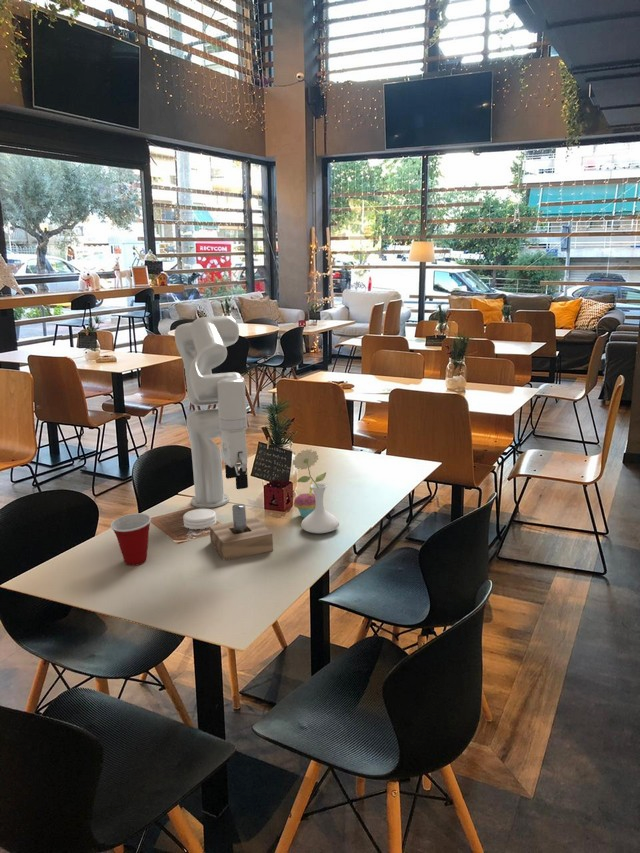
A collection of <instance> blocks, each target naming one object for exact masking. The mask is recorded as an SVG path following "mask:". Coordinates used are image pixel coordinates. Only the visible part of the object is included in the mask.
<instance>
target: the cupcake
mask: <svg viewBox="0 0 640 853" xmlns="http://www.w3.org/2000/svg"><path fill="white" fill-rule="evenodd" d="M309 484H310V485H311V484H313V481H311V482H310V483H309ZM312 492H313V489H312V488H311V487H310V486H309V493H300V494H299V495H298V496H296V498H294V502H293V506H294V507H295V508H297V509H298V512H299V513H300V516H301V517H302V518H303V519H305V518H306V517H307V516H308V515H309V514H311V513H312V512H313V511H314V510H315V506H316V501H315V494H314V492H313V493H312Z"/></svg>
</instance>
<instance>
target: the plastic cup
mask: <svg viewBox="0 0 640 853" xmlns="http://www.w3.org/2000/svg"><path fill="white" fill-rule="evenodd" d="M151 521H152V516H150V515H149V514H147V513H139V512H138V513H129V514H125V515H122V516H120V517H117V518H116V519H114V520H112V521H111V523H110V528H111V530H113V532H114V534H115V537H116V539H117V542H118V546H119V549H120V552H121V554H122V558H123V561H124V563H125V565H128V566H131V567H132V566H138V565H139V566H140V565H141V564H144V563H145V562H146V561H147V558H148V549H149V535H150V527H151Z"/></svg>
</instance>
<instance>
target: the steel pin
mask: <svg viewBox="0 0 640 853" xmlns="http://www.w3.org/2000/svg"><path fill="white" fill-rule="evenodd" d="M231 509H232V522H233V526H234V535H235V534H240V533H245V532H247V527H246V519H247V514H246V505H245V504H242V503H236V504H234V505H232V506H231Z"/></svg>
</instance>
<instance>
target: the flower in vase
mask: <svg viewBox="0 0 640 853" xmlns="http://www.w3.org/2000/svg"><path fill="white" fill-rule="evenodd" d="M318 460H319V455H318V453H317V450H313V449H312V448H310V449H308V448H306V449H305V450H304V449H301V451H300V452H297V454H296V455H295V456H294V459H293V460H292V465H294V466H293V467H294V468H295V469H297V470H299V469H300V470H307V469H308V475H309V476H308V475H303V476H301V477H299V478H298V479H297V480H296V483H308V482H309V481H310V480H311V481H312V484H311V485H310V486H309V488H310V487H311V488H312V492H313V494H315V501H316V506H315V510H314V511H313V512H312V513H311V514H309V515H308V516H307V517H306V518H303V520H302V521H301V523H300V527H301V528H302V529H303V531H305V532H308V533H311V534H326V533H330V532H333V531H335V530H337V528H338V527H339V526H340V522H339V520H338V518H337V517H336V516H335V515H333V514H332V513H330V512H329V511H328V510H326V509H325V507H324V493H325V490H326V488H327V487H328V485H327V484H326V483H323V482H321V481H323V480H324V479H325V478H326V475H327V471H325V472H324V473H322V474H319V475H317V476H316V477H315V480H314V478H313V477H312V475H311V471H310V468H311V467H312V466H315V464H316V463H317V462H318Z"/></svg>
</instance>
